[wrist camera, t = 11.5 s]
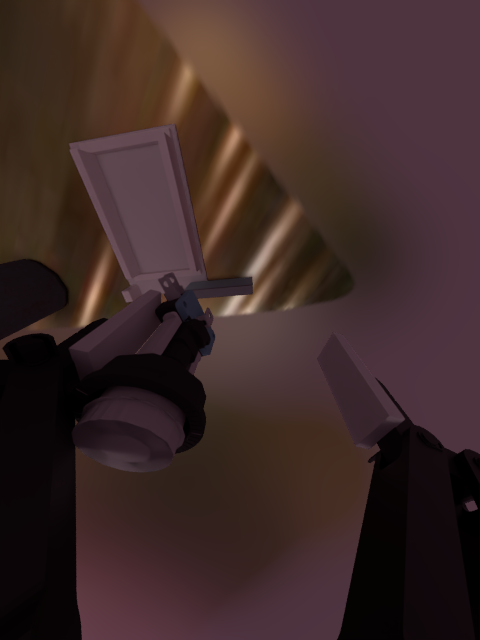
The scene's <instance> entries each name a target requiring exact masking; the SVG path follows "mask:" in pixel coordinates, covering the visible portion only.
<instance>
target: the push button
mask: <svg viewBox="0 0 480 640" xmlns="http://www.w3.org/2000/svg"><path fill="white" fill-rule="evenodd" d="M170 278H173V279H174V282H173V283H172V282H171V280H170ZM158 281H159V283H160V285H161V287H162V288H163V290H164V292H165V294H164V296H165V297H166V299H167V301H166V302H163V303H162V304H161V305H160V306H158V307H157V308H156V310H155V313H156V315H157V317H158V319H159V320H160V322H161V323H162V324H161V325H160V326H159V327H158V329H157V330H156V331H155V332H154V333H153V335H152V336H151V337H150V338H149V340H148V341H147V342H146V343H145V344H144V346H143V347H142V348H141V349H140V351H139V352H138V353H137V354H132V355H119V356H116V357H115V358H114V359H112V360H111V361H110V362H108V363H107V364H106V365H104V367H103V368H102V369H100V370H97V371H94V372H92V373H90V374H88V375H87V376H85V377H84V378H83V379H82V380H81V381H80V382H79V383H78V384H77V385H76V386H75V387H74V388H73V389H72V391H71V393H70V396H69V407H70V409H71V410H72V411H73V413H74V416H75V419H76V420H77V421H78V423H77V425H76V426H75V427H74V428H73V431H72V437H73V443H74V444H75V445H76V446H77V447H78V448H79V449H80V450H81V451H82V452H83V453H84V454H85V455H86V456H88V457H90V458H92V459H94V460H96V461H97V462H99V463H101V464H104V465H106V466H110V467H113V468H117V469H120V470H126V471H135V472H152V471H157V470H161V469H162V468H165V467H167V466H168V465H170V464H171V461H172V458H173V457H174V455H175V454H176V453H181V452H184V451H186V450H189V449H191V448H192V447H194V446H195V445H196V444H197V443H198V442H199V441H200V440H201V438H202V437H203V434H204V429H205V425H206V416H205V412H204V409H203V408H204V404H205V400H206V395H205V391H204V388H203V385H202V383H201V382H200V381H199V380H198V379H197V378H196V377H195V376H194V372H195V370H196V367H197V364H198V362H199V361H200V359H201V357H202V356H206V355H210V353H211V350H212V346H213V343H214V340H215V334H214V332H213V330H212V329H211V326H210V325H212V321H213V315H212V313H211V311H210V309H209V308H207V309H206V312H205V314H204V312H203V310H202V308H201V306H200V304H199V302H198V300H197V298H196V296H195V294H194V292H193V290H189V291H186V292H185V290H184V288H183V286H182V285H181V286H180V285H179V283H178V281H177V279H176V277H175V275H174V273H173V272H171V273H168V274H165V275H164V277H162V278H159V279H158ZM165 281H166V282H167V284H168V286H169V287H166V286H165V285H164V282H165ZM209 314H210V317H209Z"/></svg>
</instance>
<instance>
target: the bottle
mask: <svg viewBox="0 0 480 640" xmlns="http://www.w3.org/2000/svg"><path fill="white" fill-rule="evenodd" d="M66 301H67V292H66V288H65V286H64V285H63V283H62V282H61V280H60V279H59V277H58V276H57V275H56V274H55V273H53V272H52V271H50V270H49V269H48V268H46V267H45V266H43V265H42V264H40V263H37V262H33V261H30V260H26V259H23V260H18V261H13V262H8V263H3V264H0V340H1V339H3V338H5V337H7V336H9V335H11V334H13V333H15V332H17V331H19V330H21V329H23V328H25V327H27V326H29V325H31V324H33V323H35V322H37V321H39V320H40V319H42V318H44V317H46V316H48V315H50V314H52V313H54V312H56V311H58V310H60V309H62V308H63V307H64V305H65V304H66Z"/></svg>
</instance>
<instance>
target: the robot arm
mask: <svg viewBox="0 0 480 640" xmlns="http://www.w3.org/2000/svg"><path fill="white" fill-rule="evenodd" d="M160 305H161V292H159V291H155V290H151V289H150V290H149V291H147V292H146V293H145V294H143V295H142V296H140V297H139V298H138V299H136V300H135V301H133V302H132V303H131V304H129V305H128V306H127V307H125V308H124V309H122V310H121V311H120V312H118V313H117V314H115V315H114V316H113V317H111V318H110V319H106V318H102V319H99V320H96V321H94V322H92V323H90V324H89V325H87V326H86V327H85V328H83V329H81V330H80V331H79V332H78V333H75V334H74V335H72V336H71V337H69V338H68V339H66V340H65V341H63V342H62V343H60V344H59V345H56V343H55V340H54V337H53V336H51V335H49V334H42V333H39V334H30V335H25V336H21V337H18V338H16V339H13V340H12V341H10V342H8V343H7V344H6V345H5V346H4V347H3V350H4V352H5V354H6V355H7V357H8V359H9V360H0V640H82V635H81V621H80V615H79V609H78V605H77V592H76V483H75V482H76V471H75V444H74V443H73V437H72V431H73V428H74V427H75V416H74V413H73V411H72V410H71V409H70V407H69V396H70V393H71V391H72V389H73V388H74V387H75V386H76V385H77V384H78V383H79V382H80V381H81V380H82V379H83V378H84V377H85V376H87V375H88V374H90V373H92V372H94V371H97V370H100V369H102V368H103V367H104V365H106V364H107V363H108V362H110V361H111V360H112V359H114V358H115V357H116V356H119V355H132V354H135V353H136V352H137V351H138V350H139V349H140V348H141V346H142V345H143V344H144V343H145V342H146V340H147V339H148V338H149V337H150V336H151V335H152V333H153V332H154V331H155V330H156V329H157V328H158V326H159V325H160V324H161V322H160V320H159V319H158V317H157V315H156V313H155V310H156V308H157V307H158V306H160ZM317 359H318V362H319V364H320V366H321V369H322V371H323V373H324V375H325V378H326V380H327V382H328V385H329V387H330V389H331V391H332V394H333V396H334V398H335V400H336V403H337V405H338V407H339V409H340V412H341V414H342V416H343V419H344V421H345V423H346V425H347V428H348V430H349V432H350V435H351V437H352V439H353V441H354V444H355V446H356V447H361V448H366V449H370V448H372V447H373V446H374V445H375V444H376V443H377V444H378V446H379V448H380V451H379V452H377V453H376V454H375V455H374V456H372V457H371V458H370V459H369V460H368V462H369V463H371V462H372V461H375V464H374V469H373V474H372V479H371V484H370V489H369V494H368V499H367V504H366V509H365V514H364V519H363V523H362V528H361V533H360V539H359V543H358V548H357V553H356V558H355V563H354V568H353V573H352V578H351V583H350V588H349V593H348V598H347V603H346V608H345V613H344V618H343V622H342V627H341V631H340V634H339V637H338V639H337V640H480V454H478V453H476V452H474V451H472V450H470V449H465V450H463V451H462V452H460V453H458V454H457V453H455V452H453V451H451V450H449V449H446V448H444V446H443V445H442V444H441V442H440V441H439V440H438V439H437V438H436V437H435V436H434V435H433V434H431V433H430V432H429V431H427V430H426V429H424V428H422V427H420V426H416V425H414V424H413V423H412V421H411V420H410V419H409V417H408V416H407V415H406V414H405V412H404V411H403V410H402V408H401V407H400V406H399V404H398V403H397V402H396V401H395V400H394V398H393V397H392V395H390V393H389V391H388V390H387V389H386V387H385V386H384V385H383V384H382V383H381V382H380V381H379V380H377V379H376V378H375V377H374V376H373V375H372V373H371V372H370V371H369V369H368V368H367V367H366V365H365V364H364V363H363V361H362V360H361V359H360V357H359V356H358V355H357V353H356V352H355V350H354V349H353V348H352V346H351V345H350V344H349V342H348V341H347V340H346V338H345V337H344V336H343V334H339V333H335V332H333V333H332V335H331V337H330V338H329V340H328V341H327V343H326V345H325V347H324V348H323V350H322V351H321V353H320V355H319V357H318V358H317ZM473 500H474V501H475V503H476V505H477V507H478V509H477V510H475V511H472V512H469V511H468V509H467V507H466V505H465V503H467V502H470V501H473Z"/></svg>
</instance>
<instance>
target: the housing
mask: <svg viewBox="0 0 480 640" xmlns="http://www.w3.org/2000/svg"><path fill="white" fill-rule="evenodd" d="M69 145H70V148H71V149H70V153H71V155H72V157H73V159H74V162H75V164H76V166H77V169H78V171H79V173H80V175H81V178H82V180H83V182H84V185H85V187H86V189H87V191H88V194H89V196H90V198H91V200H92V203H93V205H94V207H95V210H96V212H97V214H98V216H99V219H100V221H101V223H102V225H103V228H104V230H105V232H106V235H107V237H108V239H109V241H110V244H111V246H112V248H113V251H114V253H115V255H116V257H117V260H118V262H119V264H120V266H121V269H122V271H123V273H124V276H125V278H126V279H128V281H129V284H130V286H129V287H128V288H126V289H125V290H123V291H121V292H122V294H123V296H124V298H125V300H126V302H133V301H135V300H136V299H137V298H139V297H140V296H141V295H143V294H145V293H146V292H147V291H149V290H150V289H151V290H155V291H159V292H161V294H164V293H165V292H164V290H163V288H162V287H161V285H160V283H159V281H158V279H159V278H162V277H164V275H165V274H168V273H171V272H173V273H174V275H175V277H176V279H177V281H178V283H179V285H180V286H181V285H182V286H183V288H184V289H185V288H186V287H187V286H188V285H189V284H190V282H201V281H208V280H207V275H206V270H205V265H204V260H203V256H202V251H201V246H200V241H199V236H198V231H197V227H196V222H195V217H194V212H193V207H192V202H191V198H190V193H189V188H188V183H187V178H186V174H185V169H184V164H183V159H182V154H181V149H180V145H179V140H178V135H177V130H176V125H175V124H170V125H164V126H159V127H154V128H149V129H143V130H138V131H133V132H127V133H122V134H117V135H112V136H106V137H101V138H96V139H91V140H85V141H80V142H75V143H69ZM170 280H171V282H172V283H173V282H174V279H173V278H170ZM164 285H165V286H166V287H169V286H168V284H167V282H166V281H165V282H164Z"/></svg>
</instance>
